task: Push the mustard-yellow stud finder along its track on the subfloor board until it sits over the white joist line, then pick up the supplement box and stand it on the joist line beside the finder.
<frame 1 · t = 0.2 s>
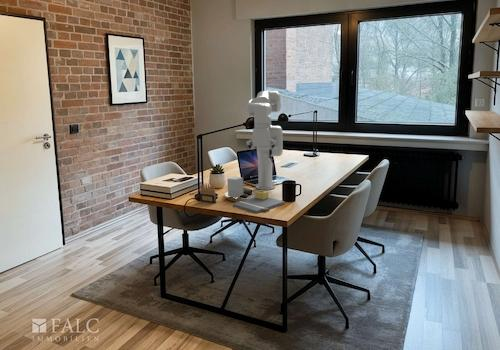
hand: (261, 156, 249), 31 cm above the table, tool pointing down, fingers open, 9 cm apart
supplement box: (235, 197, 279), on the table
stud finder: (261, 194, 269), point 4 cm above the table, slide at 0.0 cm
subfloor board: (258, 205, 261), on the table
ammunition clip: (208, 202, 269), on the table
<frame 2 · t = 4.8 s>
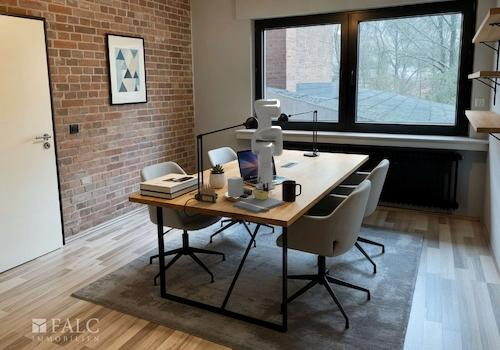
hand: (265, 193, 272), 4 cm above the table, tool pointing down, fingers closed
stud finder: (260, 194, 269), point 4 cm above the table, slide at 0.7 cm, touching gripper
everything else where it was.
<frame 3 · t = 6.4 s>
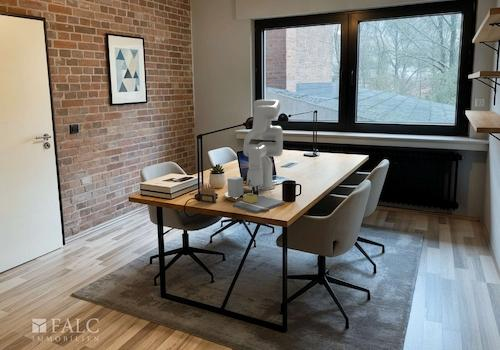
hand: (255, 196, 265), 4 cm above the table, tool pointing down, fingers closed
stud finder: (250, 197, 262), point 4 cm above the table, slide at 9.8 cm, touching gripper
everything else where it was.
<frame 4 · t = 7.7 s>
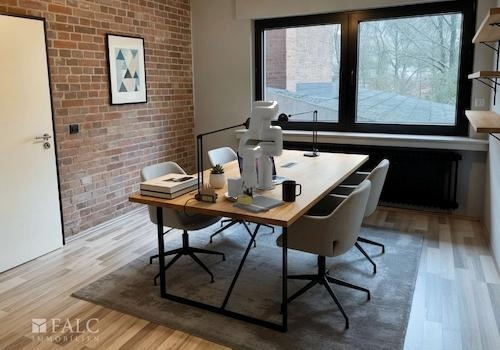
hand: (249, 198, 262), 4 cm above the table, tool pointing down, fingers closed
stud finder: (244, 199, 259), point 4 cm above the table, slide at 14.8 cm, touching gripper
everything else where it was.
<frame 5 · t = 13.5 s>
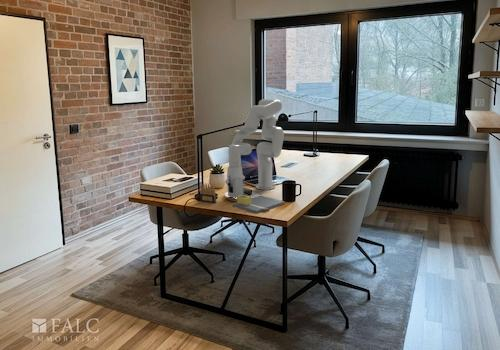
hand: (235, 191, 278), 4 cm above the table, tool pointing down, fingers closed on supplement box, 7 cm apart
supplement box: (235, 197, 279), on the table, touching gripper
stud finder: (244, 199, 259), point 4 cm above the table, slide at 15.0 cm
everything else where it was.
when the fingers open (7 cm above the table, at t = 20.8 s): supplement box drops 2 cm, resting on subfloor board.
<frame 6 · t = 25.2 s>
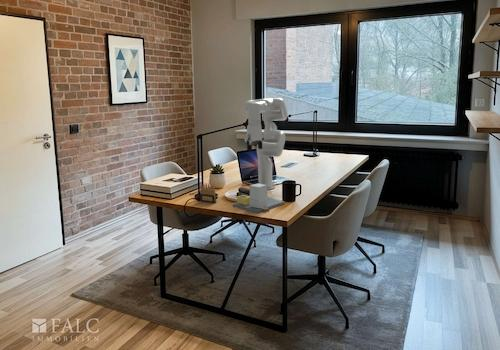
hand: (254, 149, 272), 30 cm above the table, tool pointing down, fingers open, 9 cm apart
supplement box: (258, 206, 253), point 1 cm above the table, touching subfloor board
everything else where it was.
at the end: stud finder slide at 15.0 cm; supplement box 0.5 cm from the target spot on the subfloor board, point 1.4 cm above the subfloor board's base; supplement box tilted 2° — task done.
